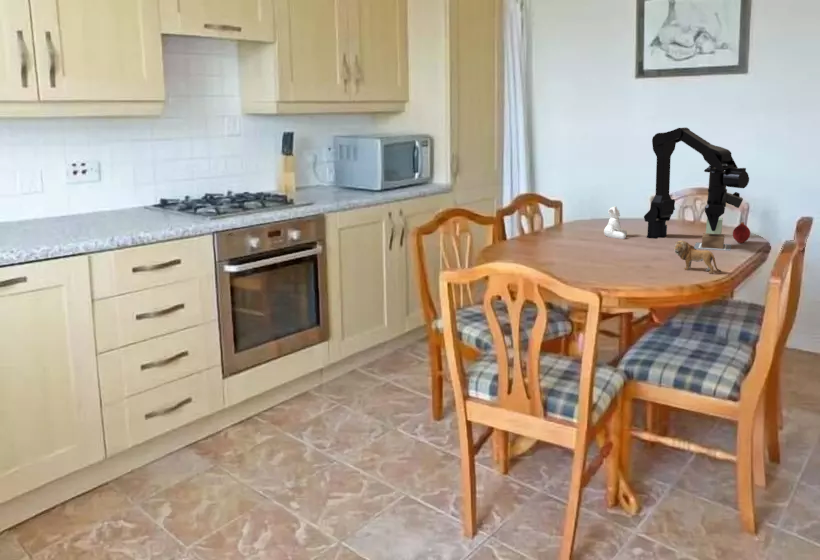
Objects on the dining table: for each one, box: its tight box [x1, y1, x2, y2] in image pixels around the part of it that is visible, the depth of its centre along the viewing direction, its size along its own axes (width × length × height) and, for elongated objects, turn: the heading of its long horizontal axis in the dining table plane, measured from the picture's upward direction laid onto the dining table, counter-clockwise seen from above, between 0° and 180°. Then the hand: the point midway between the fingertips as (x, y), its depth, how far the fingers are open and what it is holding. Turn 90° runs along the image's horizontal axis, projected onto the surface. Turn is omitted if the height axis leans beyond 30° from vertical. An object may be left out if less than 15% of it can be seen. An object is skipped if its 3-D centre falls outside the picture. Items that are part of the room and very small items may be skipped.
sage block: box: [705, 217, 724, 234], centre depth 256 cm, size 5×5×5 cm
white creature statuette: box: [603, 205, 628, 240], centre depth 281 cm, size 10×9×12 cm
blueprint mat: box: [694, 242, 732, 252], centre depth 258 cm, size 12×12×1 cm
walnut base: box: [701, 232, 725, 249], centre depth 257 cm, size 7×7×4 cm
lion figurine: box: [673, 240, 722, 275], centre depth 224 cm, size 15×5×9 cm, turn 51°
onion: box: [732, 221, 751, 244], centre depth 262 cm, size 6×6×8 cm
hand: (713, 229), depth 256 cm, fingers closed on sage block, 5 cm apart
